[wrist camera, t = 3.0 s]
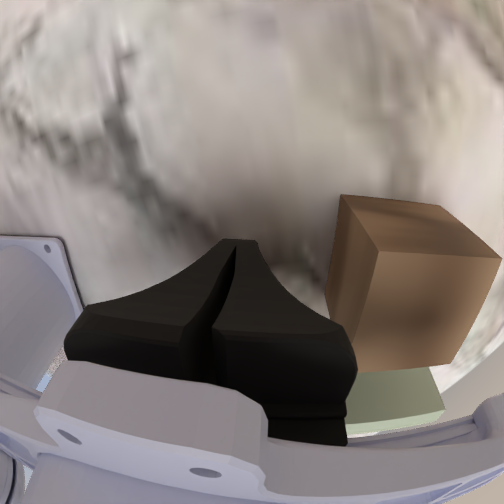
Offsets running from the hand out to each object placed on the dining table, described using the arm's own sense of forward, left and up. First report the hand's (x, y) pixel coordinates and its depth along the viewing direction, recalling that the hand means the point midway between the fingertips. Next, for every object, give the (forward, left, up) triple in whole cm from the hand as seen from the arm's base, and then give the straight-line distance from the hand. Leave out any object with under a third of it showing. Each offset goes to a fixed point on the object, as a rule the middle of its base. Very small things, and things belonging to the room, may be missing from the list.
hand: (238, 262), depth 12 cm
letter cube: (+6, 0, -2) cm, 7 cm away
